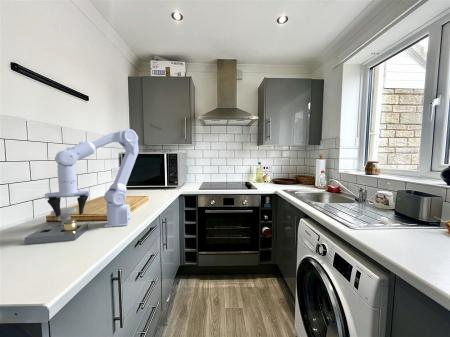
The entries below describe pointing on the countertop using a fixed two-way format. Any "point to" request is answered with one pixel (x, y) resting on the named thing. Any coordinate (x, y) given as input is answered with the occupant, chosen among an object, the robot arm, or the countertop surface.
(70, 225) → the pipe stub
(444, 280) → the countertop surface
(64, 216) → the showerhead
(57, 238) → the fitting plate
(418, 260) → the countertop surface
